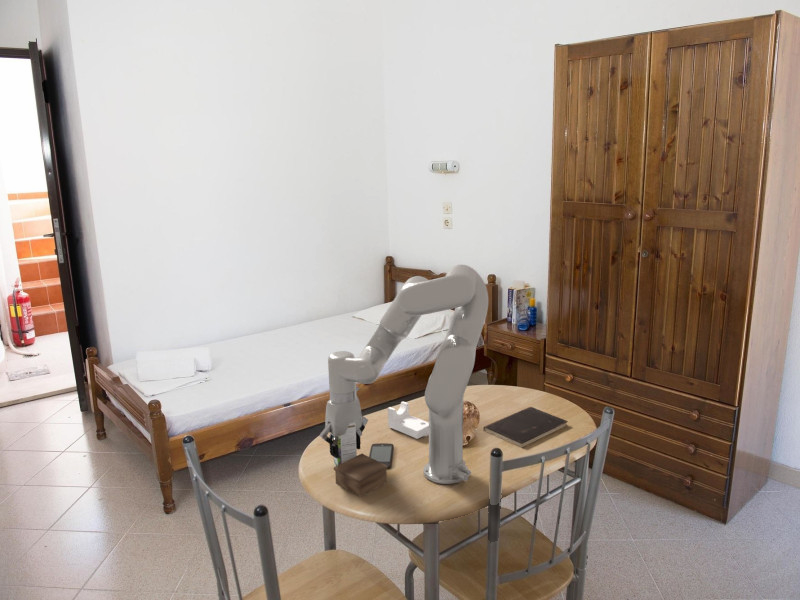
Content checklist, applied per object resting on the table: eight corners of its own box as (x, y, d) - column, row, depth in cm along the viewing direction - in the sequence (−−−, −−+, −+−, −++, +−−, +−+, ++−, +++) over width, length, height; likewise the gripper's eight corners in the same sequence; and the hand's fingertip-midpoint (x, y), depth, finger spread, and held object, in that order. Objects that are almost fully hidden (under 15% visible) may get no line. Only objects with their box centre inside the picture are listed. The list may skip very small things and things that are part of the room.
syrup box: (333, 463, 186) (330, 418, 182) (352, 459, 188) (350, 414, 184) (338, 472, 181) (336, 426, 177) (358, 468, 183) (356, 422, 179)
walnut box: (388, 482, 175) (387, 466, 174) (359, 498, 168) (359, 481, 167) (362, 469, 183) (362, 453, 181) (334, 484, 175) (333, 467, 174)
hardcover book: (567, 427, 207) (567, 421, 206) (521, 449, 193) (521, 443, 192) (529, 412, 219) (529, 406, 218) (483, 432, 205) (483, 425, 204)
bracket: (388, 429, 208) (387, 407, 206) (403, 422, 213) (402, 401, 211) (417, 441, 199) (417, 419, 197) (432, 434, 204) (432, 412, 202)
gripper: (359, 383, 187) (361, 438, 191) (309, 399, 176) (313, 457, 180) (375, 390, 181) (377, 447, 185) (324, 407, 170) (327, 467, 175)
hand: (345, 451), depth 183 cm, fingers closed on syrup box, 7 cm apart
